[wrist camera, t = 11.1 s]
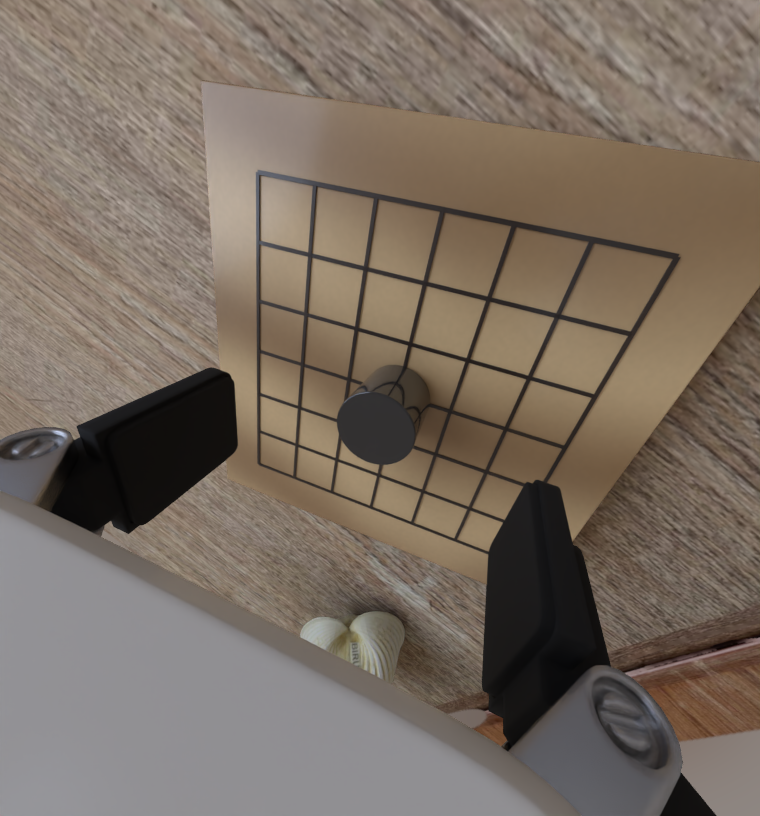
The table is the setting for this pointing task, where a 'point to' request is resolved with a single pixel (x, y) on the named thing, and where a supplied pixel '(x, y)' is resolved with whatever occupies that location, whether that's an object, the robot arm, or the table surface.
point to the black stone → (384, 415)
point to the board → (460, 304)
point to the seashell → (360, 640)
